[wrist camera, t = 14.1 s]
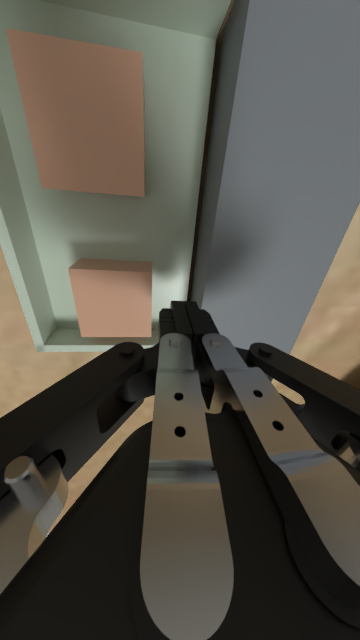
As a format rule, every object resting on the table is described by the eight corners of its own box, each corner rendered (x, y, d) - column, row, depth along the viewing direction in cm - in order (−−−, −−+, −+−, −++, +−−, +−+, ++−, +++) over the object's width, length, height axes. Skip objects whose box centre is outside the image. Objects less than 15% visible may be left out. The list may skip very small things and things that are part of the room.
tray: (-43, -30, 8) (-128, -130, 6) (215, 29, 10) (236, -30, 7) (54, 329, 17) (37, 351, 15) (182, 330, 19) (186, 351, 16)
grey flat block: (222, 30, 10) (258, -56, 7) (360, 62, 11) (452, 1, 8) (186, 330, 19) (193, 359, 16) (265, 331, 20) (287, 358, 17)
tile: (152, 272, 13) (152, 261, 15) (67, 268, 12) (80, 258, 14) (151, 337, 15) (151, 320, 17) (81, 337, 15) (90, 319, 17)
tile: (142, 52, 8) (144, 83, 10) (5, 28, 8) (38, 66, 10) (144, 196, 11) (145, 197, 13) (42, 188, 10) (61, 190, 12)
